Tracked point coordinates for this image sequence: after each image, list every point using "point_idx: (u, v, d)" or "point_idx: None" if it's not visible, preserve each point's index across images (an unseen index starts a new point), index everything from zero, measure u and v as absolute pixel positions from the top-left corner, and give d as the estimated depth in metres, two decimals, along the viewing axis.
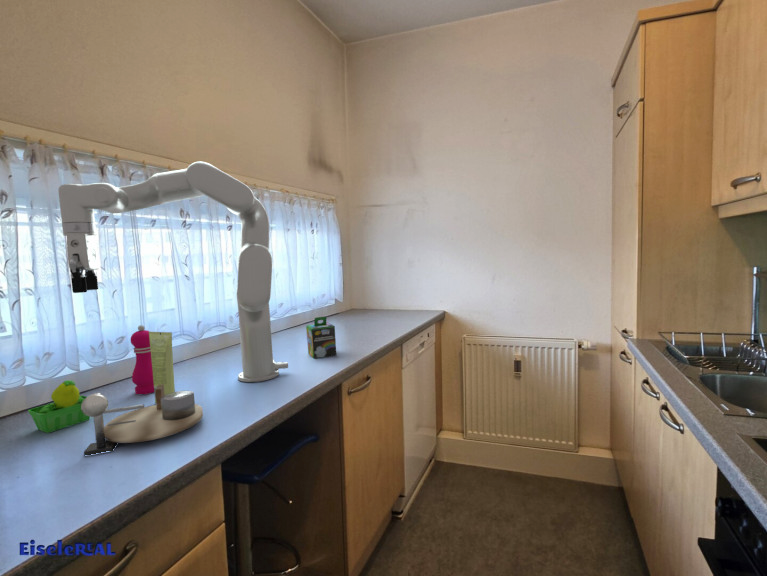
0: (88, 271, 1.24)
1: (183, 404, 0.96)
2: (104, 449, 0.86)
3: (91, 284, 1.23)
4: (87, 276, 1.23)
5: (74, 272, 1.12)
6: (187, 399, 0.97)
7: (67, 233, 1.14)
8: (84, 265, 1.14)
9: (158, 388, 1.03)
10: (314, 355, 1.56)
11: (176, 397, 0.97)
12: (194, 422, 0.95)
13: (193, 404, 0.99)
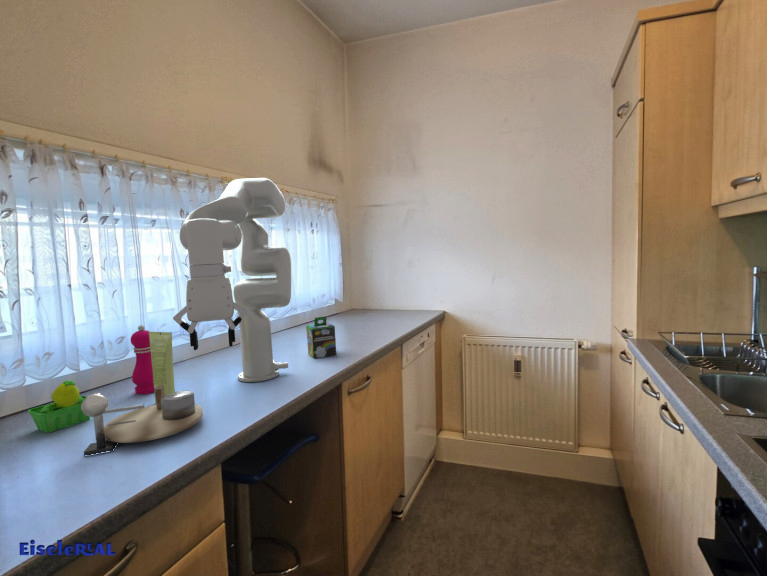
0: None
1: (183, 404, 0.96)
2: (104, 449, 0.86)
3: (197, 342, 0.99)
4: (195, 331, 0.98)
5: None
6: (187, 399, 0.97)
7: (222, 276, 0.98)
8: (233, 311, 1.03)
9: (158, 388, 1.03)
10: (314, 355, 1.56)
11: (176, 397, 0.97)
12: (194, 422, 0.95)
13: (193, 404, 0.99)
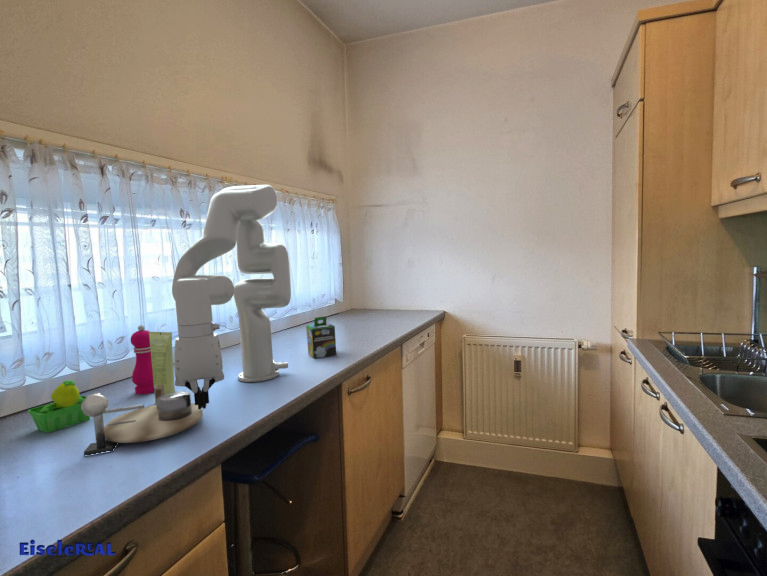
0: None
1: (179, 405, 0.96)
2: (104, 449, 0.86)
3: (201, 400, 1.00)
4: None
5: None
6: (183, 400, 0.96)
7: (210, 335, 0.98)
8: (222, 367, 1.03)
9: (158, 388, 1.03)
10: (314, 355, 1.56)
11: (172, 398, 0.96)
12: (194, 422, 0.95)
13: (189, 405, 0.98)
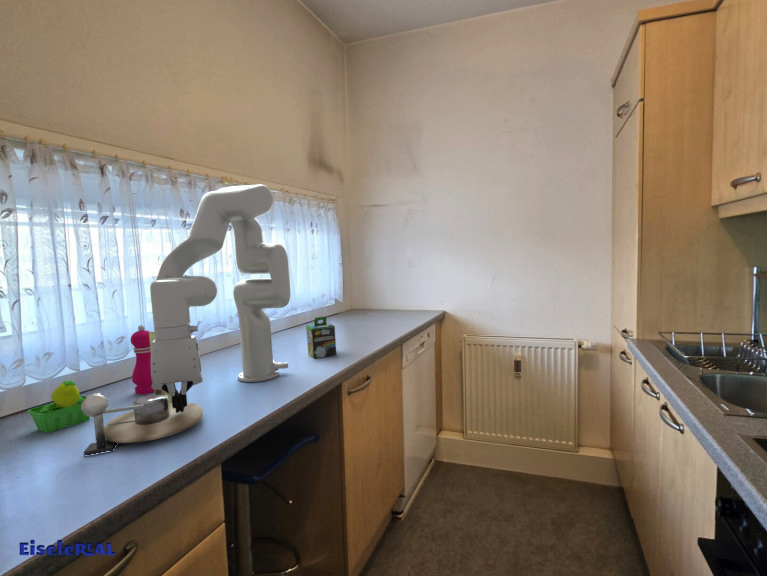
0: None
1: (156, 408, 0.94)
2: (104, 449, 0.86)
3: None
4: (177, 390, 0.98)
5: None
6: (161, 403, 0.95)
7: (187, 337, 0.96)
8: None
9: None
10: (314, 355, 1.56)
11: (149, 401, 0.95)
12: (194, 422, 0.95)
13: (167, 408, 0.97)
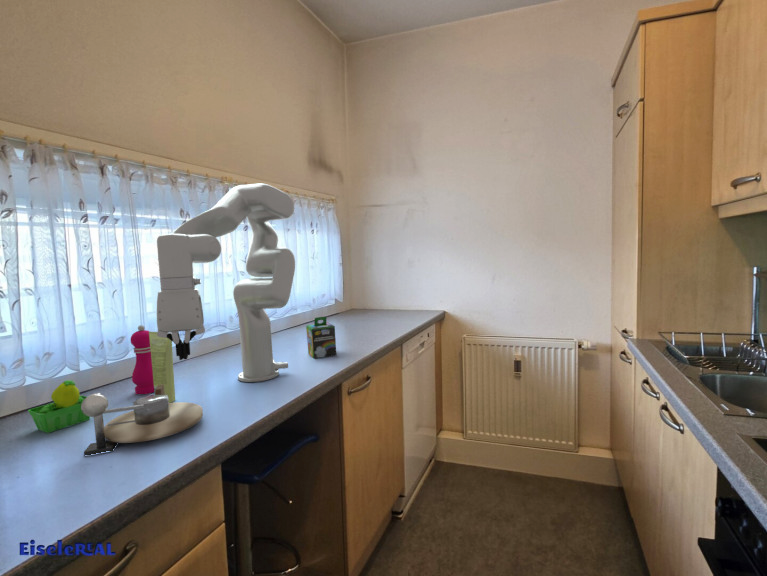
0: None
1: (156, 408, 0.94)
2: (104, 449, 0.86)
3: None
4: None
5: None
6: (161, 403, 0.95)
7: (191, 288, 1.03)
8: (203, 321, 1.07)
9: (158, 388, 1.03)
10: (314, 355, 1.56)
11: (149, 401, 0.95)
12: (194, 422, 0.95)
13: (167, 408, 0.97)
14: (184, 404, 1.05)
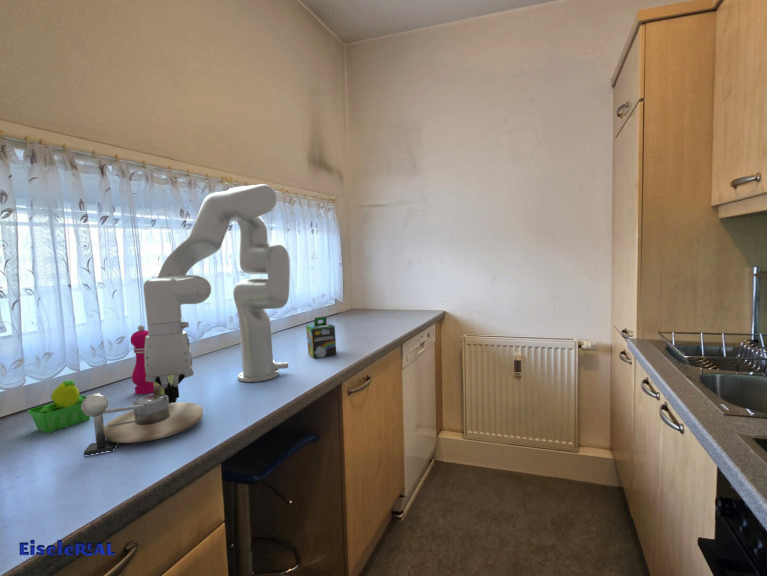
0: None
1: (158, 408, 0.94)
2: (104, 449, 0.86)
3: None
4: None
5: None
6: (162, 403, 0.95)
7: (179, 333, 1.03)
8: None
9: (156, 388, 1.03)
10: (314, 355, 1.56)
11: (150, 401, 0.95)
12: (196, 421, 0.96)
13: (168, 408, 0.97)
14: (182, 404, 1.05)
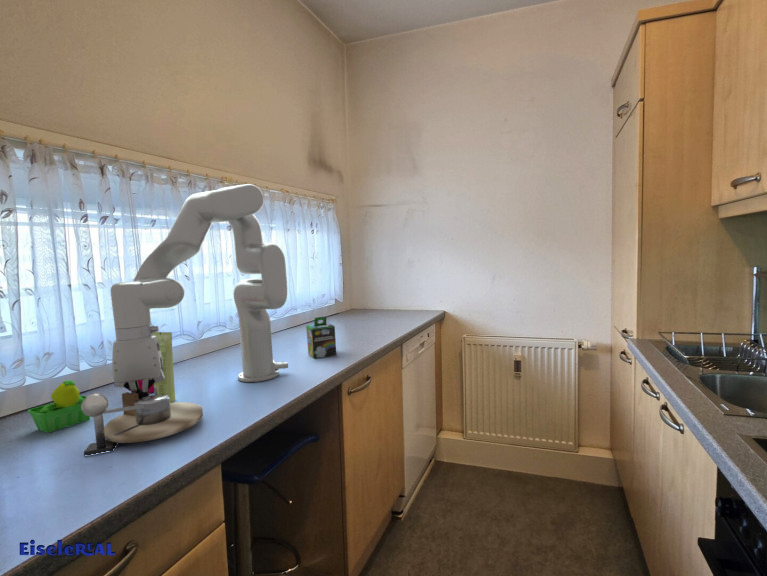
0: None
1: (168, 404, 0.97)
2: (104, 449, 0.86)
3: None
4: (139, 388, 1.02)
5: None
6: (169, 399, 0.98)
7: (148, 337, 1.01)
8: None
9: (133, 394, 0.99)
10: (314, 355, 1.56)
11: (158, 400, 0.96)
12: None
13: None
14: None
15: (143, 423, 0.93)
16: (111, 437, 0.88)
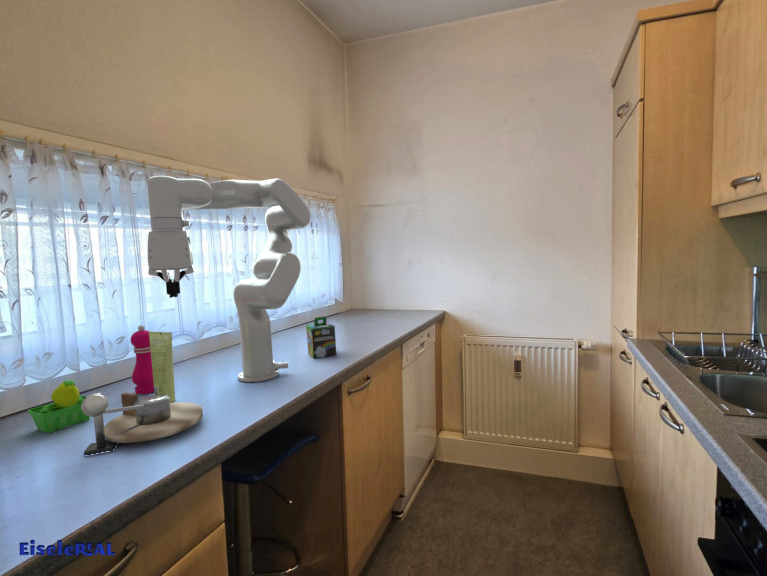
0: None
1: (168, 404, 0.97)
2: (104, 449, 0.86)
3: None
4: None
5: None
6: None
7: (180, 229, 1.08)
8: (192, 263, 1.13)
9: (133, 394, 0.99)
10: (314, 355, 1.56)
11: (158, 400, 0.96)
12: None
13: None
14: None
15: (143, 423, 0.93)
16: (111, 437, 0.88)
